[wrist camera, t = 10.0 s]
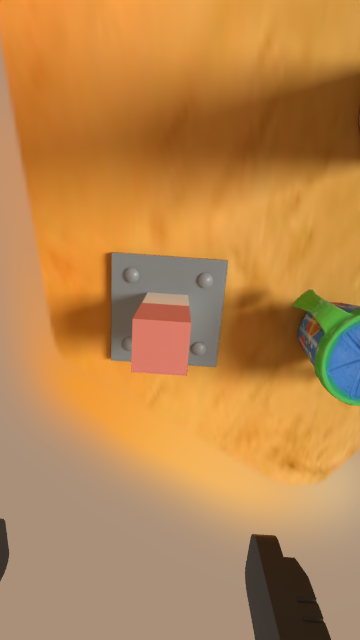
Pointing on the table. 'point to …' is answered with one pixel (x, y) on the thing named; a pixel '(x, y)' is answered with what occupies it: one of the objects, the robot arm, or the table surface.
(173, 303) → the cream brick
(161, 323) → the red brick
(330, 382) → the snack cup
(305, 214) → the table surface
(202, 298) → the base plate
